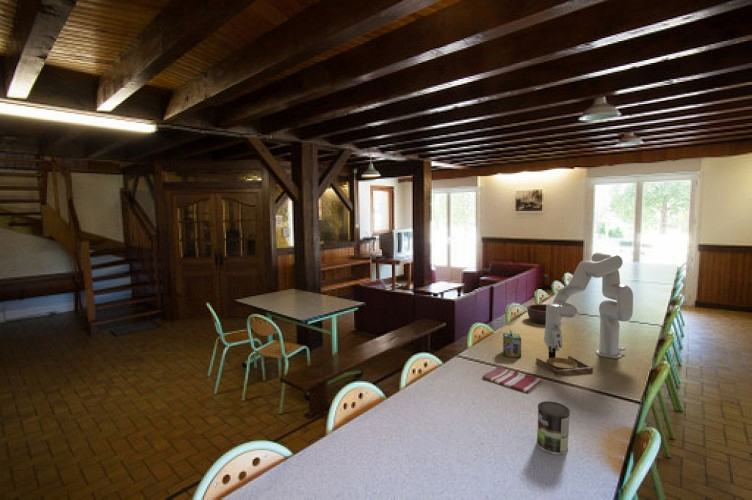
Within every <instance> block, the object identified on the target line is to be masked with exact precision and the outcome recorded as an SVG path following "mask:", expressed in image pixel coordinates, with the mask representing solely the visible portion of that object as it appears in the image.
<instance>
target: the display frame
mask: <svg viewBox="0 0 752 500" xmlns="http://www.w3.org/2000/svg"><path fill="white" fill-rule="evenodd" d="M567 359H569V360H572V361H574V362H575V363H577V366H578V367H575V368H574V369H564V370H557V369H555V368H553V367H552V366H550V365H549V364H548V362H547V363H546V362H545V361H543V360H542V359H540V358H539V357H536V359H535V362H536V363H537V364H538V365H539V366H540V367H542V368H544V369H545V370H546V371H548V372H550V373H551V374H553V375H554V376H556V377H559V376H568V375H569V376H571V375H578V374H579V375H581V374H589V373H590V374H591V373H593V372H594V367H593V366H591V365H589V364H587V363H585V362H583V361H582V360H579V359H578V358H575V357H574V356H572V355H569V354H568V355H567Z"/></svg>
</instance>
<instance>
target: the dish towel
mask: <svg viewBox="0 0 752 500" xmlns="http://www.w3.org/2000/svg"><path fill="white" fill-rule="evenodd" d="M482 379H483V380H485V381H488V382H491V383H494V384H497V385H501V386H504V387H506V388H507V387H508V388H509V389H512V390H516V391H519V392H523V393H525V394H530V393H531V392H532V391H533V390H535V389H536V388H538V387H539V386H540V385H541V384H542V383H543V382H542V379H541V378H540V377H536V376H534V375H531V374H524V373H521V372H518V371H514V370H510V369H506V368H503V366H499V365H498V366H497V367H496V368H494V369H493V370H491V371H488V372H486V373H485V374H483V375H482Z"/></svg>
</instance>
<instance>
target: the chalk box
mask: <svg viewBox="0 0 752 500" xmlns="http://www.w3.org/2000/svg"><path fill="white" fill-rule="evenodd" d="M502 354H503V355H504V357H507V358H522V337H521V335H520V334H519V333H513V332H512V330H511V329H509V332H504V333H502Z"/></svg>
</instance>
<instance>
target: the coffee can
mask: <svg viewBox="0 0 752 500" xmlns="http://www.w3.org/2000/svg"><path fill="white" fill-rule="evenodd" d="M537 409H538V410H537V429H536V430H537V433H536V434H537V435H536V445H537V446H538V447H539V449H541V450H542V451H544V452H546V453H548V454H552V455H564V454H567V452H568V451H569V433H570V432H569V431H570V430H569V428H570V413H571V411H570V408H568V406H566V405H564V404H562V403H559V402H555V401H550V400H549V401H547V400H546V401H541V402H539V403H538V404H537Z"/></svg>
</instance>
